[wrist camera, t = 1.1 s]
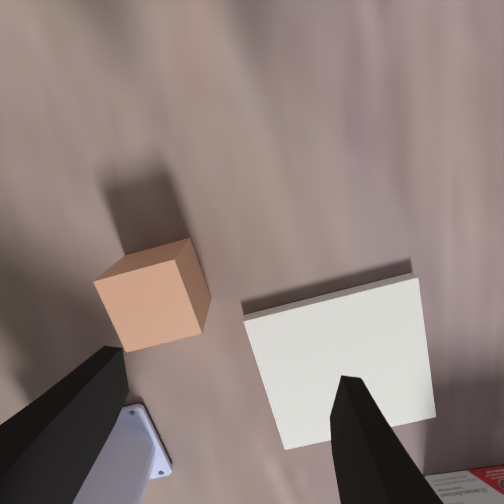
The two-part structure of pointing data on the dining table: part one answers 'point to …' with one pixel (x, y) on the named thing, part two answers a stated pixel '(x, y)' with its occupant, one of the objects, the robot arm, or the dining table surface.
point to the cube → (156, 295)
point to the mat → (343, 355)
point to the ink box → (470, 486)
